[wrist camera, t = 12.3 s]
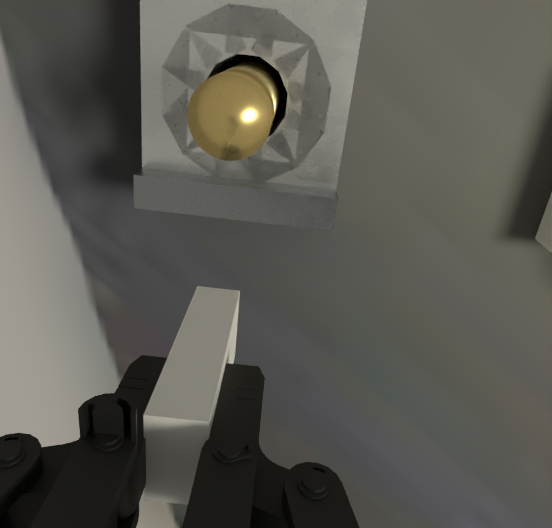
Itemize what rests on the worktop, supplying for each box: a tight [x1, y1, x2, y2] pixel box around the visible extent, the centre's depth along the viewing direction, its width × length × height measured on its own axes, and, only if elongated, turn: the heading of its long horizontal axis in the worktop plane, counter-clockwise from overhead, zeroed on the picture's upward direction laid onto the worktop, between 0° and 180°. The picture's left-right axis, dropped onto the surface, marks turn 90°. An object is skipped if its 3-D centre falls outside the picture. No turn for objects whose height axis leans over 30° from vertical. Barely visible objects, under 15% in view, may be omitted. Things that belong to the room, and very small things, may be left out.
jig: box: [133, 0, 367, 231], centre depth 33 cm, size 16×14×6 cm
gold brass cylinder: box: [187, 62, 280, 161], centre depth 31 cm, size 4×4×12 cm
